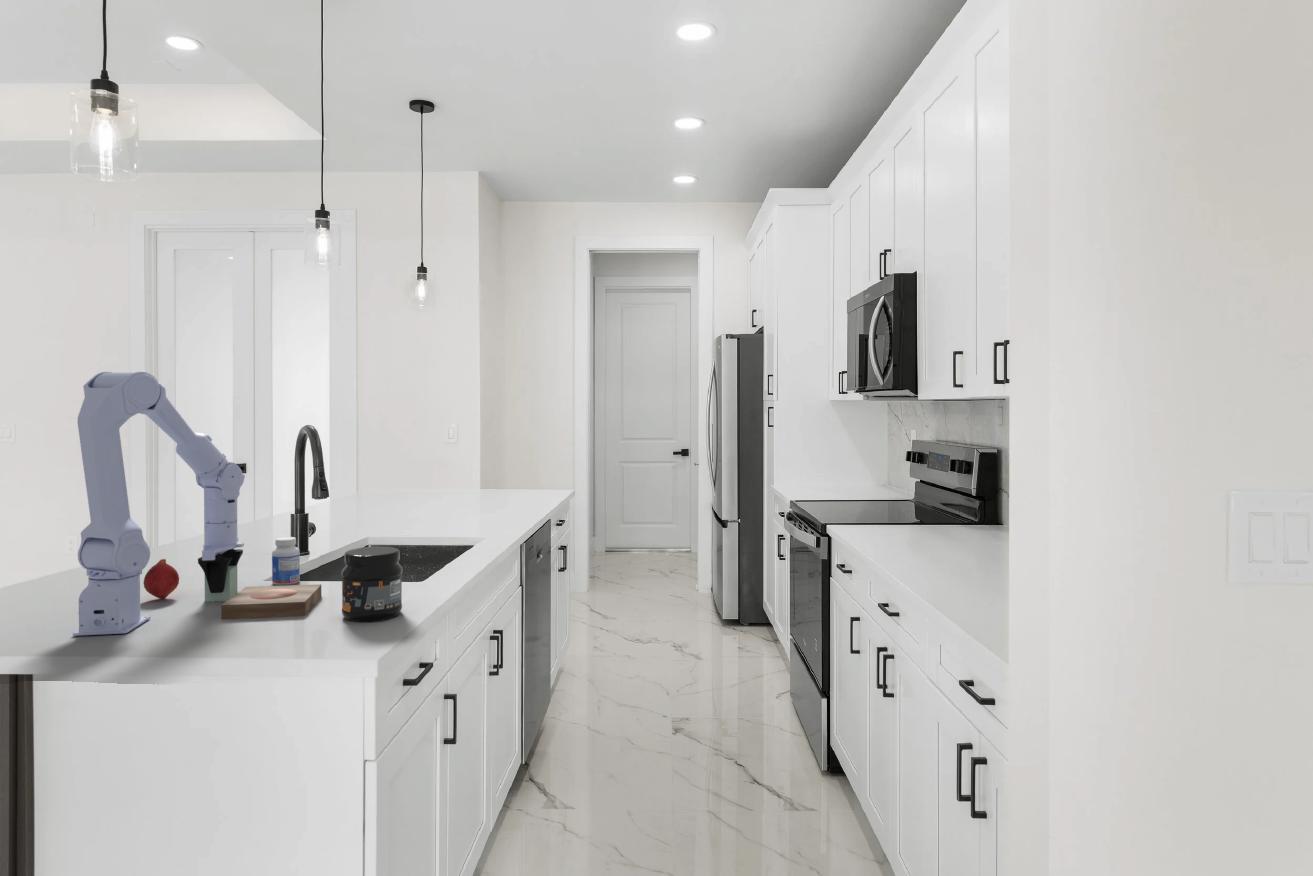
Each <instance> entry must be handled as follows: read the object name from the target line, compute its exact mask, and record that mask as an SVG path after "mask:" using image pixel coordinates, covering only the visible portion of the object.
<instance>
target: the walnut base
mask: <svg viewBox="0 0 1313 876" xmlns="http://www.w3.org/2000/svg"><path fill="white" fill-rule="evenodd" d="M321 597H322V584H320V583H319V584H296V585H295V584H291V585H265V586H264V585H262V586H261V585H260V586H244V587H243V588H242V589H241V590H240V591H237V594H235V595H234V596H233V597H231V598H230V599H229V600H227V601H224V602H223V603H222V604H221V605H220V608H221V609H220V613H221V615H220V619H222V620H224V619H225V620H226V619H229V620H230V619H249V618H250V619H251V618H269V617H270V618H271V617H291V616H292V617H293V616H294V617H296V616H297V617H298V616H306V615H307V613H309V611H310V610H311V609H312V608H313V607H314V606H315V604H316V603H317V602H318V601H319V600H320V599H321Z"/></svg>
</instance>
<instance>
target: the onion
mask: <svg viewBox="0 0 1313 876" xmlns="http://www.w3.org/2000/svg"><path fill="white" fill-rule="evenodd" d="M179 581H180V575H179V573H178V570H176V569H175V568H174V567H173V566H172V565H170V564H169V563H167V559H166V558H161V559H160V560H158V562H157V563H155V564H154V565H153V566H151V567H150V568H149V569H148V570H147V572H146V574H145V576H144V578H143V588H144V589H145V590H146V592H147V593H149V594H150V595H152V596H153V597H156V598H157V599H159V600H164V599H166V598H167V597H168V596H169V595H170V594H172V593H173V592H175V590H176V589H177V588H178V585H179V583H180V582H179Z"/></svg>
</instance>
